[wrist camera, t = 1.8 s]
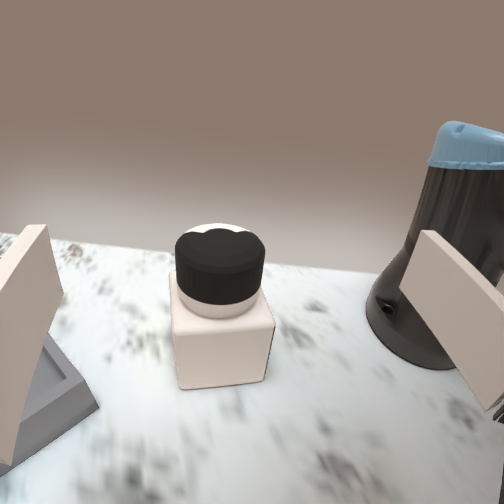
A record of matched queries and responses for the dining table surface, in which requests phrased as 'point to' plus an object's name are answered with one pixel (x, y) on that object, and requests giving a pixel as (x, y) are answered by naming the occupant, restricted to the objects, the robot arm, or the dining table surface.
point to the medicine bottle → (219, 308)
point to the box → (50, 403)
